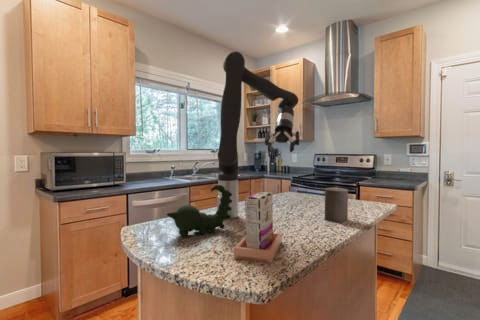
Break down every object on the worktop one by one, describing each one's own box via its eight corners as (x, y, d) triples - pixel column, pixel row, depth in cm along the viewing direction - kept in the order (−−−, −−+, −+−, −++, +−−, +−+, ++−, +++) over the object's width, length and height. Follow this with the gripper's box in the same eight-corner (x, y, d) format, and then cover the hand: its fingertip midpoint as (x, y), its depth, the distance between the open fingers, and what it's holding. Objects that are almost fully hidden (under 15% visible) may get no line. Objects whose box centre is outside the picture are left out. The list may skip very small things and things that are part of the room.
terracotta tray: (233, 258, 75) (233, 247, 75) (250, 239, 92) (249, 230, 91) (272, 262, 72) (272, 252, 72) (281, 242, 88) (281, 233, 88)
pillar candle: (320, 220, 117) (321, 186, 116) (329, 215, 124) (329, 184, 124) (343, 224, 111) (344, 188, 110) (350, 219, 118) (351, 185, 117)
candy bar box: (259, 240, 88) (258, 191, 88) (273, 242, 86) (273, 192, 85) (244, 251, 78) (244, 196, 78) (260, 254, 76) (260, 197, 75)
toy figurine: (221, 229, 109) (161, 234, 96) (225, 183, 109) (165, 182, 96) (233, 235, 101) (168, 241, 88) (237, 186, 101) (173, 185, 88)
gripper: (267, 119, 117) (261, 144, 106) (300, 117, 112) (297, 143, 102) (269, 131, 122) (264, 157, 111) (301, 131, 118) (298, 157, 107)
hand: (280, 150), depth 107 cm, fingers open, 8 cm apart
